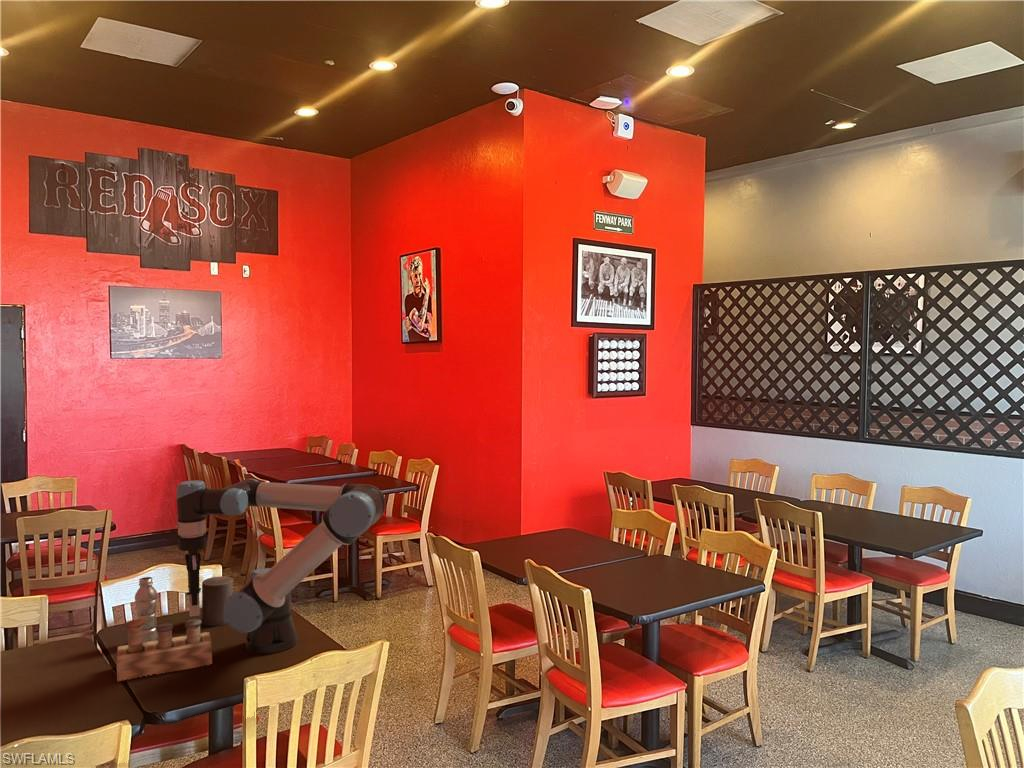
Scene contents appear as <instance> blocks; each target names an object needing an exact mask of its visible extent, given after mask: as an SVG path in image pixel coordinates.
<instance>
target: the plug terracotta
mask: <svg viewBox="0 0 1024 768" xmlns="http://www.w3.org/2000/svg"><path fill="white" fill-rule="evenodd" d="M143 624H144V620H142V619H137V618H136V619H130V620H128V621H127V622H126V623H125V627H126V628H127V645H128V654H133V653H139V652H143V642H142V625H143Z"/></svg>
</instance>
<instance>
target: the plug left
mask: <svg viewBox="0 0 1024 768" xmlns="http://www.w3.org/2000/svg"><path fill="white" fill-rule="evenodd" d="M202 625H203V624H202V619H200V618H193V619H189V620H187V621H185V622H184V626H185V628H186V636H187V644H193V643H199V642H200V633H201V626H202Z"/></svg>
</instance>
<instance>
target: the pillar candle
mask: <svg viewBox="0 0 1024 768" xmlns="http://www.w3.org/2000/svg"><path fill="white" fill-rule="evenodd" d="M232 594H234V578H232V577H229V576H224V575H223V576H213V577H212V576H211V577H209V578H208V577H207V578H205V579H204V580H203V581H202V583H201V609H202V610H201V611H202V612H201V616H202V619H201V621H202V624H201V625H203V626H205V625H206V627H219V626H223V625H224V624H225V625H228V624H227V622H226V620H225V617H224V605H225V602H226V601H227V599H228V598H229V597H230V596H231V595H232ZM225 625H224V626H225Z"/></svg>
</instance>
